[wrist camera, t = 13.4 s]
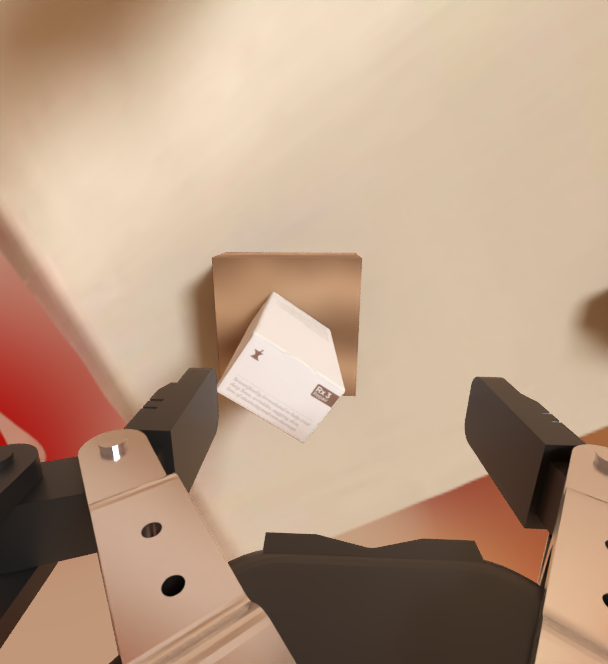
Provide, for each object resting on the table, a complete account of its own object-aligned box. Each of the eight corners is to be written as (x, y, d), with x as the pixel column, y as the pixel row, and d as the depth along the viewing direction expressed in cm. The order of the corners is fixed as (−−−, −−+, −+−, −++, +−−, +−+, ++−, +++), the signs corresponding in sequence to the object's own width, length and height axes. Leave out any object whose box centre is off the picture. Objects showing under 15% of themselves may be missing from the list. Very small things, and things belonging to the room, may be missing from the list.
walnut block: (226, 252, 35) (211, 257, 30) (355, 253, 34) (361, 258, 30) (233, 371, 38) (221, 393, 33) (350, 373, 38) (355, 395, 33)
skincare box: (246, 330, 32) (205, 394, 20) (274, 286, 30) (248, 328, 19) (306, 368, 32) (300, 452, 21) (336, 328, 31) (347, 392, 20)
